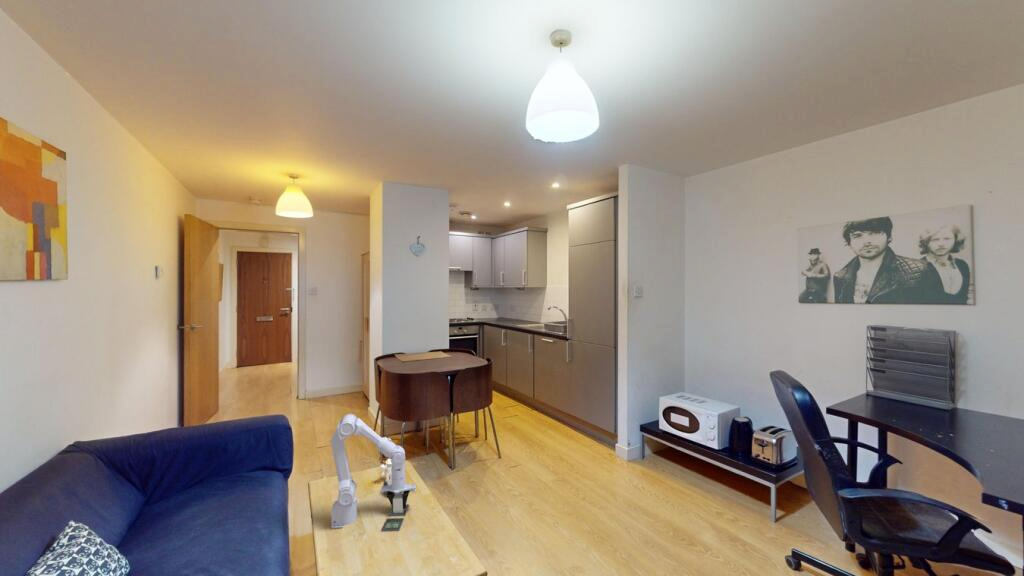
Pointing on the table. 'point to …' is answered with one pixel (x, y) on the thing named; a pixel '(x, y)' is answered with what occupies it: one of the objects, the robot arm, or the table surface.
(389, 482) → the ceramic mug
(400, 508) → the plug
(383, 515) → the table surface
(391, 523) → the panel
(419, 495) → the table surface
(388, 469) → the blocky character figurine
